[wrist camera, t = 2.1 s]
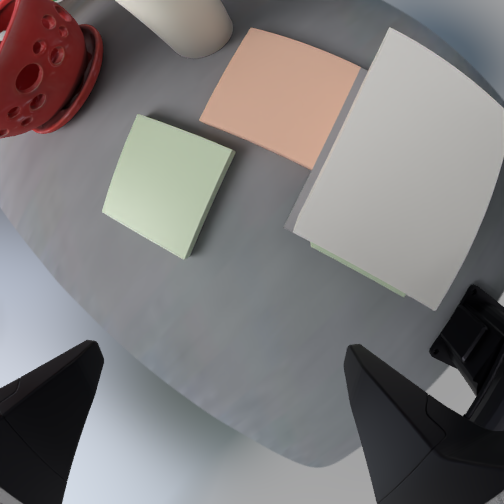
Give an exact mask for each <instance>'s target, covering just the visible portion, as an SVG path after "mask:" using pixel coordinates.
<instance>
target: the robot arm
mask: <svg viewBox="0 0 504 504" xmlns="http://www.w3.org/2000/svg"><path fill="white" fill-rule="evenodd" d="M474 289H475V290H474ZM473 290H474V292H473V293H472V291H473ZM436 349H437V350H436ZM435 350H436V351H435ZM434 351H435V352H434ZM429 353H430V354H431V356H432V357H434V358H436V359H438V360H440V361H442V362H444V363H446V364H448V365H450V366H452V367H455V368H457V369H458V370H459V371H460V373H461V374H462V376H463V377H464V379H465V380H466V382H467V383H468V385H469V386H470V387H471V389H472V391H473V392H474V394H475V395H476V398H475V400H474V402H473V403H472V405H471V406H470V408H469V410H468V411H467V413H466V414H464V415H463V416H461V415H460V414H458V413H456V412H455V411H453V410H451V409H450V408H448V407H446V406H445V405H443V404H442V403H440V402H439V401H437V400H436V399H434V398H433V397H432V396H430V395H428V394H427V393H426V392H425V391H423V390H422V389H421V388H419V387H418V386H417V385H415V384H414V383H412V382H411V381H410V380H408V379H407V378H406V377H404V376H403V375H401V374H400V373H399V372H397V371H396V370H395V369H393V368H392V367H391V366H389V365H388V364H386V363H385V362H384V361H382V360H381V359H380V358H378V357H377V356H376V355H374V354H373V353H371V352H370V351H369V350H367V349H366V348H365V347H363V346H362V345H360V344H354V345H349V346H348V348H347V352H346V356H345V360H344V372H345V377H346V383H347V388H348V394H349V400H350V405H351V409H352V412H353V416H354V419H355V423H356V426H357V429H358V433H359V436H360V440H361V444H362V447H363V451H364V454H365V458H366V461H367V466H368V469H369V473H370V477H371V481H372V485H373V489H374V493H375V497H376V501H377V504H504V307H503V306H501V305H500V304H499V303H498V302H497V301H496V300H494V299H493V298H492V297H491V296H489V295H488V294H487V293H485V292H484V291H483V290H482V289H480V288H479V287H478V286H476V285H474V284H473V285H471V286H470V287H469V288H468V290H467V292H466V293H465V295H464V297H463V299H462V300H461V302H460V304H459V305H458V307H457V309H456V310H455V312H454V314H453V315H452V317H451V318H450V320H449V321H448V323H447V324H446V326H445V328H444V329H443V331H442V332H441V333H440V335H439V336H438V338H437V339H436V341H435V342H434V344H433V345H432V346H431V348H430V350H429ZM103 364H104V358H103V355H102V353H101V350H100V348H99V345H98V343H97V342H96V341H92V340H86V341H84V342H82V343H81V344H79V345H77V346H75V347H73V348H72V349H70V350H68V351H66V352H65V353H63V354H61V355H59V356H57V357H56V358H54V359H52V360H50V361H49V362H47V363H45V364H43V365H41V366H40V367H38V368H36V369H34V370H33V371H31V372H29V373H27V374H25V375H24V376H22V377H21V378H18V379H17V380H15V381H13V382H11V383H9V384H7V385H6V386H4V387H2V388H0V504H62V501H63V497H64V492H65V488H66V484H67V482H66V481H67V479H68V476H69V473H70V469H71V465H72V462H73V459H74V455H75V452H76V449H77V446H78V442H79V439H80V436H81V433H82V430H83V427H84V424H85V421H86V418H87V416H88V413H89V410H90V408H91V405H92V402H93V399H94V396H95V393H96V390H97V386H98V382H99V379H100V374H101V371H102V367H103Z"/></svg>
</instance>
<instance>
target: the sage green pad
mask: <svg viewBox="0 0 504 504" xmlns="http://www.w3.org/2000/svg"><path fill="white" fill-rule="evenodd" d="M235 153H236V152H235V151H233V150H231V149H229V148H227V147H224V146H222V145H219V144H217V143H215V142H212V141H210V140H207V139H205V138H202V137H200V136H197V135H195V134H192V133H189V132H187V131H184V130H182V129H179V128H176V127H173V126H171V125H168V124H165V123H162V122H160V121H157V120H154V119H151V118H148V117H145V116H142V115H139V114H138V115H137V117H136V119H135V121H134V124H133V126H132V128H131V131H130V133H129V135H128V138H127V140H126V143H125V145H124V148H123V150H122V153H121V156H120V158H119V161H118V164H117V166H116V169H115V172H114V175H113V178H112V181H111V184H110V187H109V190H108V193H107V196H106V200H105V203H104V206H103V210H102V212H103V213H105V214H106V215H108V216H109V217H111V218H113V219H114V220H116V221H118V222H119V223H121V224H123V225H125V226H126V227H128V228H130V229H131V230H133V231H135V232H136V233H138V234H140V235H142V236H143V237H145V238H147V239H148V240H150V241H152V242H154V243H155V244H157V245H159V246H161V247H162V248H164V249H166V250H168V251H169V252H171V253H173V254H175V255H177V256H178V257H180V258H182V259H184V260H185V259H186V258H188V257H190V255H191V252H192V250H193V248H194V245H195V243H196V240H197V238H198V236H199V233H200V231H201V228H202V226H203V224H204V221H205V219H206V217H207V215H208V212H209V210H210V208H211V205H212V203H213V201H214V199H215V196H216V194H217V192H218V190H219V188H220V185H221V183H222V181H223V179H224V177H225V174H226V172H227V170H228V168H229V166H230V164H231V162H232V159H233V157H234V155H235Z"/></svg>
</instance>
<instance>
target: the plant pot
mask: <svg viewBox="0 0 504 504" xmlns="http://www.w3.org/2000/svg"><path fill="white" fill-rule="evenodd" d="M3 31H6V32H5V35H4V37H3V40H2V41H0V138H5V137H10V136H16V135H19V134H23V133H25V132H28V131H30V130H33V131H35V132H37V133H41V134H46V133H51V132H53V131H56V130H58V129H59V128H61V127H62V126H64V125H65V124H66V123H67V122H68V121H69V120H71V119H72V118H73V116H74V115H75V114H76V113H77V112H78V111H79V109H80V108H81V107H82V105H83V104H84V102H85V101H86V99H87V98H88V96H89V94H90V92H91V91H92V89H93V86H94V84H95V82H96V80H97V77H98V74H99V71H100V68H101V64H102V58H103V42H102V38H101V35H100V33H99V32H98V30H97V29H96V28H94V27H93V26H91V25H87V24H81V25H78V24H77V22H76V21H75V19H74V18H73V17H72V16H71V15H70V14H69V13H68V12H67V11H66V10H65V9H64V8H62V7H61V6H60V5H58V4H57V3H56V2H54V1H52V0H1V1H0V33H1V32H3Z"/></svg>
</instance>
